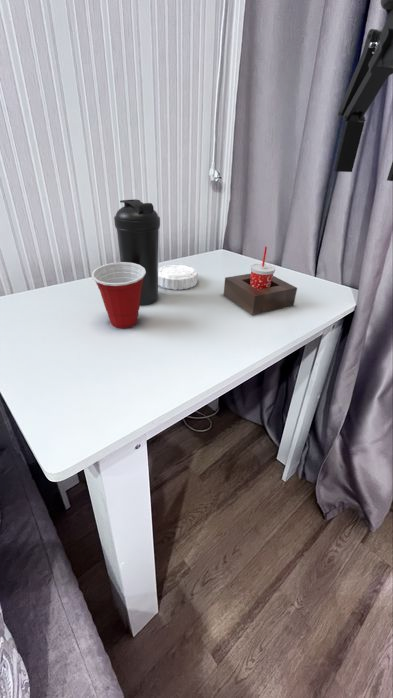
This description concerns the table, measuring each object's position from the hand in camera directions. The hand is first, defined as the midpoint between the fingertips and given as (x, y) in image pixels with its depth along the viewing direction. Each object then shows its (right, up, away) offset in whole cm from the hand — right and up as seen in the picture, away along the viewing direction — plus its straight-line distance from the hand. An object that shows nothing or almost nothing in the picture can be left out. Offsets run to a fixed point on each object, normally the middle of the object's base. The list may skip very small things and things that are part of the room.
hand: (367, 176), depth 47 cm
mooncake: (-30, -5, +49) cm, 57 cm away
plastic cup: (-40, -19, +27) cm, 52 cm away
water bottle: (-38, -12, +38) cm, 55 cm away
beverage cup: (-8, -12, +40) cm, 42 cm away
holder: (-8, -12, +40) cm, 42 cm away
